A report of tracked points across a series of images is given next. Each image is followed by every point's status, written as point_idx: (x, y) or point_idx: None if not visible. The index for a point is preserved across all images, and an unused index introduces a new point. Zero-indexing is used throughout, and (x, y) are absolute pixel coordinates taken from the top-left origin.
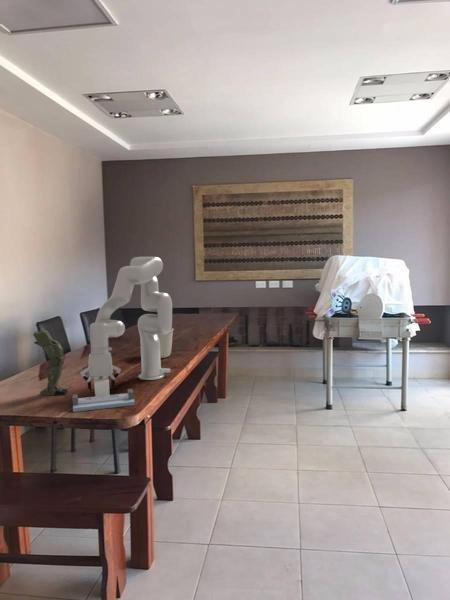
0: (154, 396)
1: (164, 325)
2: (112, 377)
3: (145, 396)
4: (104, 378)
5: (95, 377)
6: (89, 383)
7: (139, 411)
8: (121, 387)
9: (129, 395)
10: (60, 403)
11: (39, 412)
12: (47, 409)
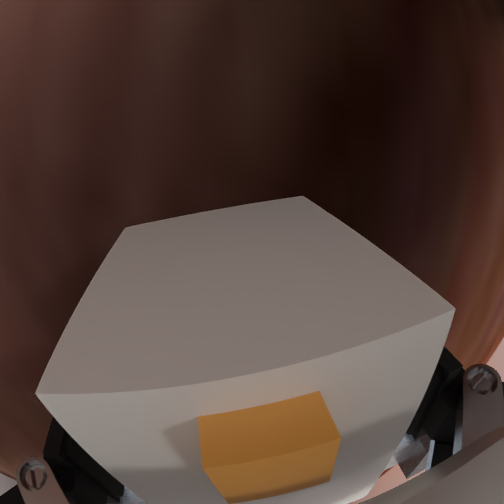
0: (495, 348)
1: None
2: (442, 458)
3: (477, 352)
4: (339, 461)
5: (81, 407)
6: (107, 490)
7: (382, 475)
8: (429, 78)
9: (403, 465)
10: (7, 421)
11: (16, 469)
12: (17, 459)
